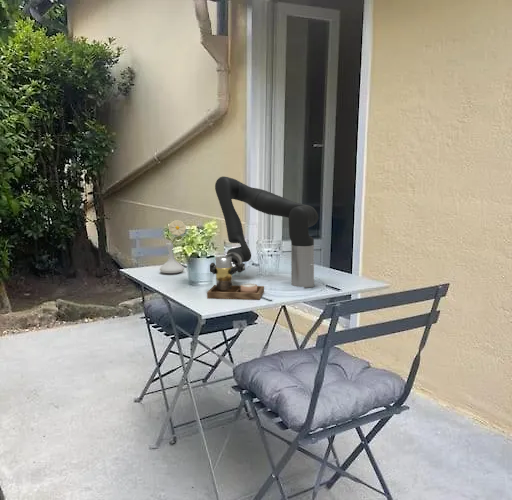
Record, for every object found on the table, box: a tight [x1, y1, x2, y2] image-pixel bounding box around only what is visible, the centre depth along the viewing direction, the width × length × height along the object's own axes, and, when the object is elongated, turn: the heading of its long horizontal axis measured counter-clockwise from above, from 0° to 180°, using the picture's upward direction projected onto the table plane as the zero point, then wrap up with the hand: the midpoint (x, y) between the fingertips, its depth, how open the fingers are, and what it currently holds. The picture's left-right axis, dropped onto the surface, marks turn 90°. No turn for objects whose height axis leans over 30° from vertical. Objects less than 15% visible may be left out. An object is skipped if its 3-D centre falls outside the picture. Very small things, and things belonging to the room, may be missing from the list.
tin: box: [215, 255, 233, 290], centre depth 209 cm, size 6×6×12 cm
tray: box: [206, 284, 265, 301], centre depth 210 cm, size 20×12×3 cm, turn 81°
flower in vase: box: [159, 219, 187, 274], centre depth 254 cm, size 13×11×25 cm
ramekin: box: [240, 282, 258, 293], centre depth 209 cm, size 6×6×4 cm
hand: (222, 271), depth 207 cm, fingers closed on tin, 6 cm apart
